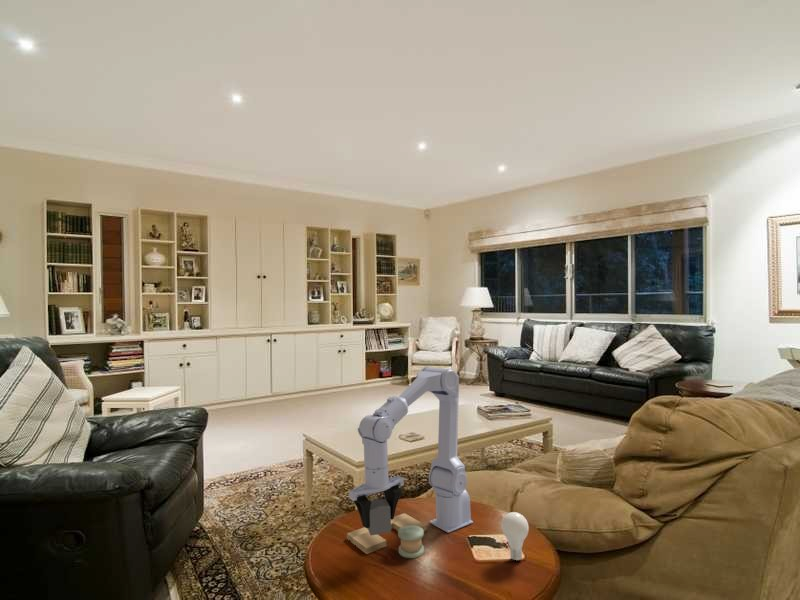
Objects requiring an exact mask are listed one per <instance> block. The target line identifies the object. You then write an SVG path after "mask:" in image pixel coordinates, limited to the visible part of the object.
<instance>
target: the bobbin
mask: <svg viewBox="0 0 800 600" xmlns="http://www.w3.org/2000/svg"><path fill="white" fill-rule="evenodd" d="M424 534H425V532H424V531H423V529H422V528H421V527H419V526H415V525H408V526H404V527H401V528H400V529H399V530H398V531H397V535H398V538H399V539H400V545H399V546H398V554H399V556H401V557H403V558H405V559H416V558H417V559H418V558H420V557H422V555H424V554H425V545H423V543H422V538H423V537H424Z"/></svg>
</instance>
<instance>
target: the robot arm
mask: <svg viewBox="0 0 800 600" xmlns="http://www.w3.org/2000/svg"><path fill="white" fill-rule="evenodd" d="M459 389H460V376H459V374H458V373H457V372H456V371H455V369H453V368H443V367H442V368H440V367H431V366H424V367H423V368H422V369H421V370H419V371H418V372H417V374H416V378H415V379H414V380H413V381H412V382H411V383H410V384H409V386H407V387H406V389H405V390H403V392H402V393H401V394H400V395H399V396H397V395H394V396H389V397H388V398H387V399H386V402H385V403H384V404H382V405H381V406H380V407H379V408H378V409H376V410H374V412H373V413H372V414H368V415H365V416H364V417H363V418H362V419H361V421H360V422H359V427H357V432H358V435H359V436H360V437H361V442H362V445H363V456H364V457H363V458H364V459H363V460H364V461H363V463H364V483H362V484H360V485H358V486H357V487H355V488H351V489H349V490H348V497H349V498H348V499H349V500H351V501H352V502H353V504H354V505H355V507H356V509H357V510H358V513H359V517H360V520H361V525H362V526H363V528H364V527H365V528H369V527H370V506H371V501H372V500H369V497H367V496H370V495H373V494H377V493H380V492H383V494H384V499H386V500H387V502H388V504H389V506H390V515H391V520H392V519H394V517H395V513H396V509H397V505H398V502H399V500H400V498H401V496H402V494H403V489H402V488H401V487H402V486H404V485H405V483H404V481H405V480H404V477H403V476H400V475H397V476H391V477H389V457H388V456H389V455H388V440H389V439H390V438H391V435H392V433H393V430H394V429H395V426H396V425H397V424H398V423H399V422H400V421H401V420H402V419H404V417H406V416H407V414H408V413H409V407H410V406H411V405H412V404H413V403H415V402H416V401H417V400H418V399H419V398H421V397H422V396H423V395H425V393H427V392H430V393H431V394H433V396H434V397H436V398H437V399H438V400H439V410H438V411H439V412H438V435H437V437H438V441H437V442H438V443H437V457H435V458H434V459H433V460H432V461H431V464H430V465H431V467H430V469H429V473H428V483H429V485H430V486H431V487H432V489H433V490H432V491H433V492H434V494H435V513H436V514H435V516H436V518H434V519H432V520H431V519H430V521H429V523H430V524H432V526H435V527H437V528H439V529H440V530H442V531H443V532H446V533H451V532H454V531H456V530H460V529H461V528H463V527H465V526H469V525H471V524H473V523H474V521H473V520H472V517H471V516H472V515H471V499H470V495H469V493H468V491H467V490H466V488H467V485H468V477H467V473H466V466H465V464H464V463H463V462H462V461H461V459H460V458H459V457H458V435H459V433H458V431H459V429H458V427H459V399H460V398H459V396H460V395H459V391H460V390H459Z"/></svg>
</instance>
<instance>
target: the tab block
mask: <svg viewBox="0 0 800 600" xmlns="http://www.w3.org/2000/svg"><path fill="white" fill-rule="evenodd" d="M370 501H371V506H370V527H369V528H368V531H369V533H370V536H371V535H377V534H378V535H383V534H389V533H392V529H391V515H390V506H389V504H388V502H387V500H386V499H385V498H383V499H382V498H381V499H375V500H374V499H373V500H370Z"/></svg>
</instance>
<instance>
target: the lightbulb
mask: <svg viewBox="0 0 800 600" xmlns="http://www.w3.org/2000/svg"><path fill="white" fill-rule="evenodd" d="M500 523H501V524H500V525H501V526H500V527H501V530H502V531H501V532H502V533H503V536H504V537H505V539H506V541H507V543H508V546H509V548H510V549H509V552H510V553H509V554H510V555H509V556H510V559H512V560H513V561H515V560H516V562H518V561H520V560H522V559H523V557H522V556H523V550H522V549H523V544H524V541H525V540H526V538H527V537H528V534H529V529H530V526H529V522H528V520H527V519H526V517H525V515H523V514H521V513H520V512H516V511H512V512H511V511H510V512H508V513H506V514H505V515H504V517H503V518H502V520H501V522H500Z"/></svg>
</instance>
